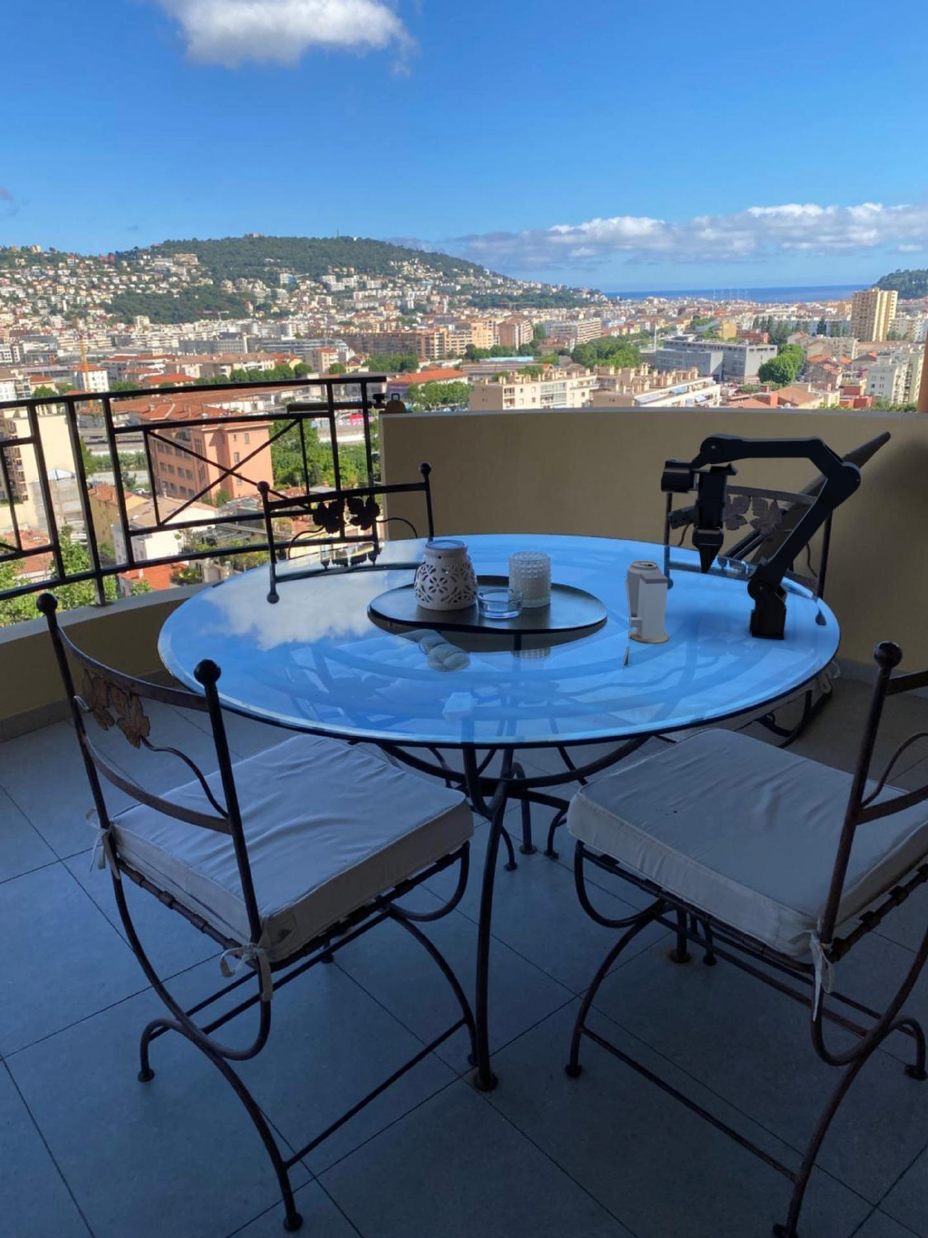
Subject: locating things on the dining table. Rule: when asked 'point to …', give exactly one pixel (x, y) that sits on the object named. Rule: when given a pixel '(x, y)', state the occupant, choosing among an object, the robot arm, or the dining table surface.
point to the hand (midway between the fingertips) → (704, 567)
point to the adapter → (651, 606)
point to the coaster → (638, 638)
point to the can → (638, 580)
